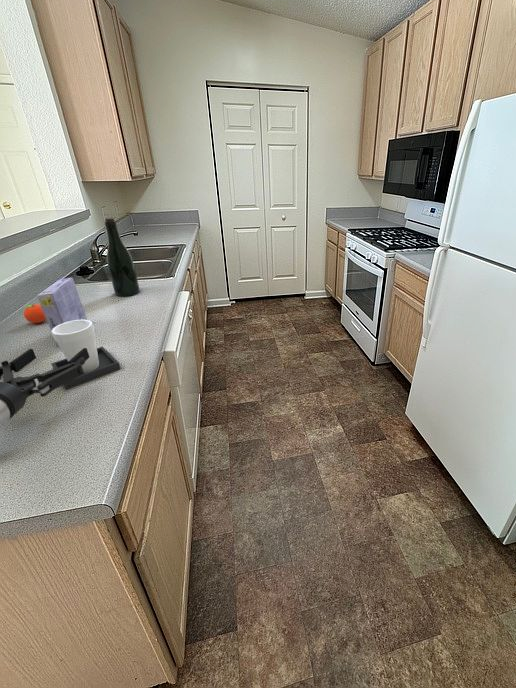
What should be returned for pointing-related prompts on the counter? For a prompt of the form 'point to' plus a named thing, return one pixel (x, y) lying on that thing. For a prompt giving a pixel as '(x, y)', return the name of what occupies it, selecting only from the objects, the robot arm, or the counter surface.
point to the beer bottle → (120, 263)
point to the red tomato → (34, 313)
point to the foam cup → (77, 341)
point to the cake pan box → (61, 303)
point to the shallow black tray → (105, 366)
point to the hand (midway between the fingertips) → (60, 352)
